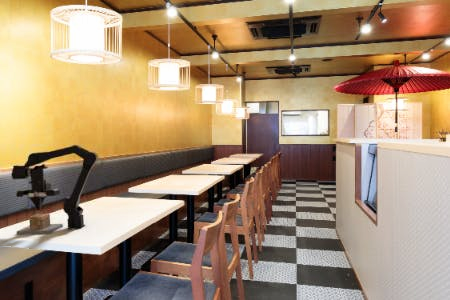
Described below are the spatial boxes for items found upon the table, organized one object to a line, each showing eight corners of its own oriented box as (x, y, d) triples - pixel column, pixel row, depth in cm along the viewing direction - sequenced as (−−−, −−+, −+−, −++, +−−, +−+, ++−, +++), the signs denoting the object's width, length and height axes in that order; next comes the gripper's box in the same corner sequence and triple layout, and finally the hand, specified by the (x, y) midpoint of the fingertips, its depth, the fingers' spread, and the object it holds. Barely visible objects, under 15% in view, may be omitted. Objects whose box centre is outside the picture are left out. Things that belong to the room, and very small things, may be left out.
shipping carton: (50, 225, 169) (49, 213, 169) (43, 229, 163) (42, 216, 162) (37, 225, 169) (37, 213, 169) (30, 229, 163) (29, 216, 163)
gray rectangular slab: (62, 226, 172) (62, 223, 172) (49, 233, 160) (49, 230, 160) (31, 227, 172) (31, 224, 172) (16, 234, 160) (16, 231, 160)
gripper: (64, 175, 173) (66, 206, 173) (28, 176, 173) (30, 207, 174) (52, 178, 161) (54, 211, 162) (14, 179, 162) (16, 212, 163)
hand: (39, 210), depth 166 cm, fingers closed
